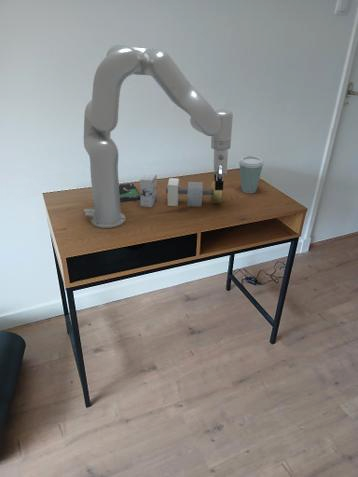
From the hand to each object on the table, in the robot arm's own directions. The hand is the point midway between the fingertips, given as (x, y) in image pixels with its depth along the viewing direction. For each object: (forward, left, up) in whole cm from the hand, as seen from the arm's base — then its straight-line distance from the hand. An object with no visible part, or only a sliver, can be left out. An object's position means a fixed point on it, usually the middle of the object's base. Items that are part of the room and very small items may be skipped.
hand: (218, 185), depth 149 cm
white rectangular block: (-18, 0, -8) cm, 20 cm away
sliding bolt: (-10, 0, -7) cm, 12 cm away
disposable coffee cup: (+15, +16, -8) cm, 23 cm away
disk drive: (-40, +5, -9) cm, 41 cm away
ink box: (-28, -2, -8) cm, 30 cm away
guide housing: (-9, 0, -8) cm, 12 cm away
